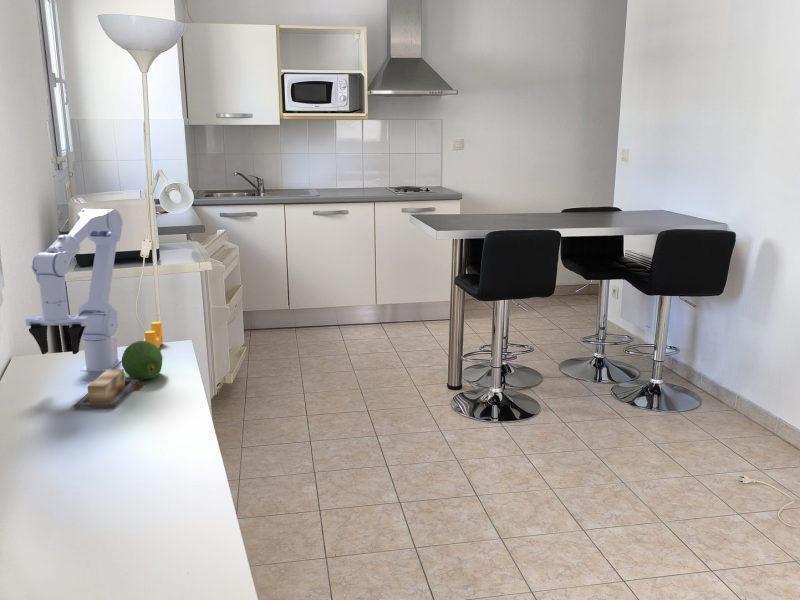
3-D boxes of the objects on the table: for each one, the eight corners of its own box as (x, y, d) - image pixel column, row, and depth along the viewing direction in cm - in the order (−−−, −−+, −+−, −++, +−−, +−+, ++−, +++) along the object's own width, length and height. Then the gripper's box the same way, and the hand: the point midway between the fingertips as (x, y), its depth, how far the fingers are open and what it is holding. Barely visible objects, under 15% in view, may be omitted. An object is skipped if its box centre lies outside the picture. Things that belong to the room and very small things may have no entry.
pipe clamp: (148, 342, 222) (146, 322, 220) (162, 341, 223) (161, 321, 221) (140, 354, 210) (138, 333, 209) (155, 353, 211) (153, 332, 209)
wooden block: (109, 388, 181) (107, 369, 180) (125, 388, 181) (123, 369, 180) (89, 406, 169) (87, 386, 168) (106, 406, 169) (104, 386, 168)
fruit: (170, 385, 185) (167, 348, 183) (129, 391, 181) (126, 353, 178) (158, 367, 198) (155, 333, 196) (120, 373, 193) (117, 338, 191)
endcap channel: (98, 386, 184) (97, 378, 183) (145, 387, 184) (144, 378, 183) (67, 413, 167) (66, 405, 166) (119, 414, 167) (118, 405, 166)
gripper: (16, 304, 173) (23, 358, 177) (77, 304, 174) (83, 357, 177) (30, 297, 180) (37, 349, 184) (89, 297, 181) (94, 349, 184)
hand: (60, 352), depth 181 cm, fingers open, 7 cm apart
